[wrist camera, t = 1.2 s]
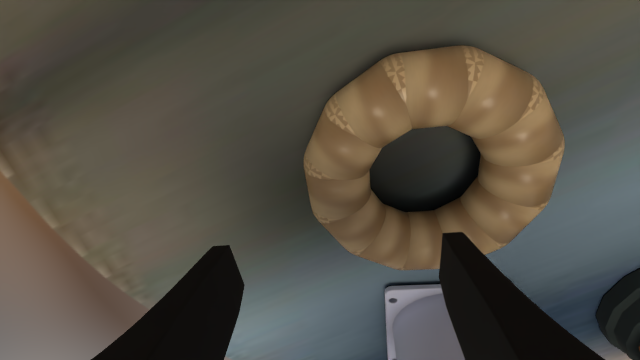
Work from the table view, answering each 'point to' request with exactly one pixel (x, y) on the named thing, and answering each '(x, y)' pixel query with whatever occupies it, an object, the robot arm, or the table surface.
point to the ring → (423, 112)
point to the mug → (622, 315)
